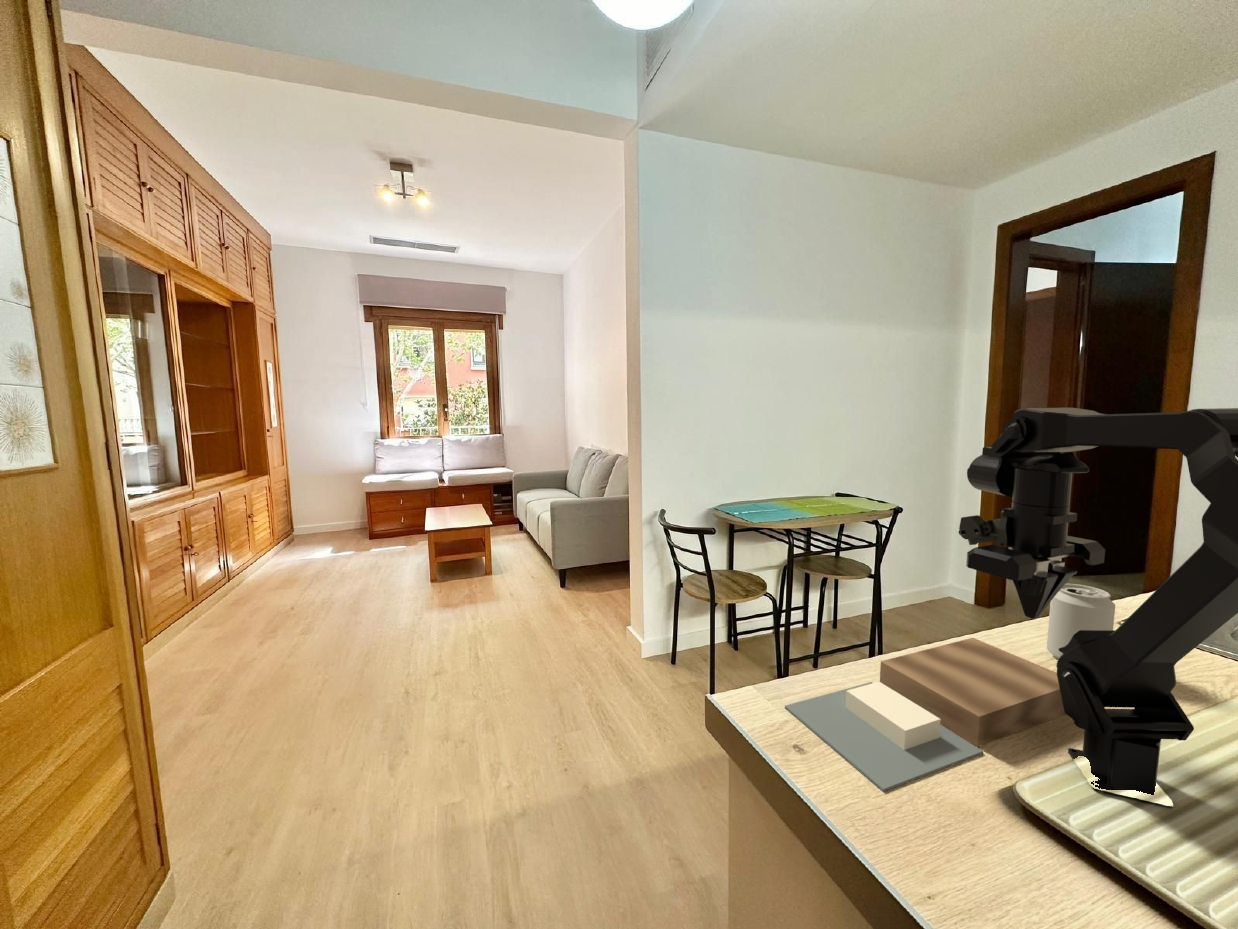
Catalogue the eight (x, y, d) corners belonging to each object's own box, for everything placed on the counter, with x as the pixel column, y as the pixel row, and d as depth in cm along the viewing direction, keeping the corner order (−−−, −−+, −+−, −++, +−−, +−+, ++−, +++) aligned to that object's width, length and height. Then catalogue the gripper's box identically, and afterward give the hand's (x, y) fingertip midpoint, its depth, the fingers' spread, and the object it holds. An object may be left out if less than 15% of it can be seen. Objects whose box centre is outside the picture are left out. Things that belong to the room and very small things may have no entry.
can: (1045, 644, 84) (1050, 577, 82) (1106, 657, 79) (1112, 587, 77) (1047, 662, 78) (1053, 590, 76) (1113, 677, 73) (1120, 601, 72)
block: (971, 660, 78) (972, 637, 78) (1077, 710, 65) (1079, 682, 65) (879, 686, 72) (880, 661, 71) (977, 747, 59) (979, 716, 58)
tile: (846, 690, 66) (845, 707, 66) (905, 730, 58) (904, 750, 58) (879, 681, 68) (878, 698, 68) (940, 719, 60) (939, 737, 60)
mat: (871, 683, 72) (871, 682, 72) (982, 753, 57) (983, 751, 57) (784, 707, 67) (784, 705, 67) (883, 791, 52) (883, 789, 52)
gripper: (1017, 489, 74) (1010, 587, 75) (931, 499, 67) (925, 605, 69) (1112, 501, 63) (1101, 615, 65) (1020, 514, 57) (1010, 639, 59)
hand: (1031, 617), depth 65 cm, fingers closed
